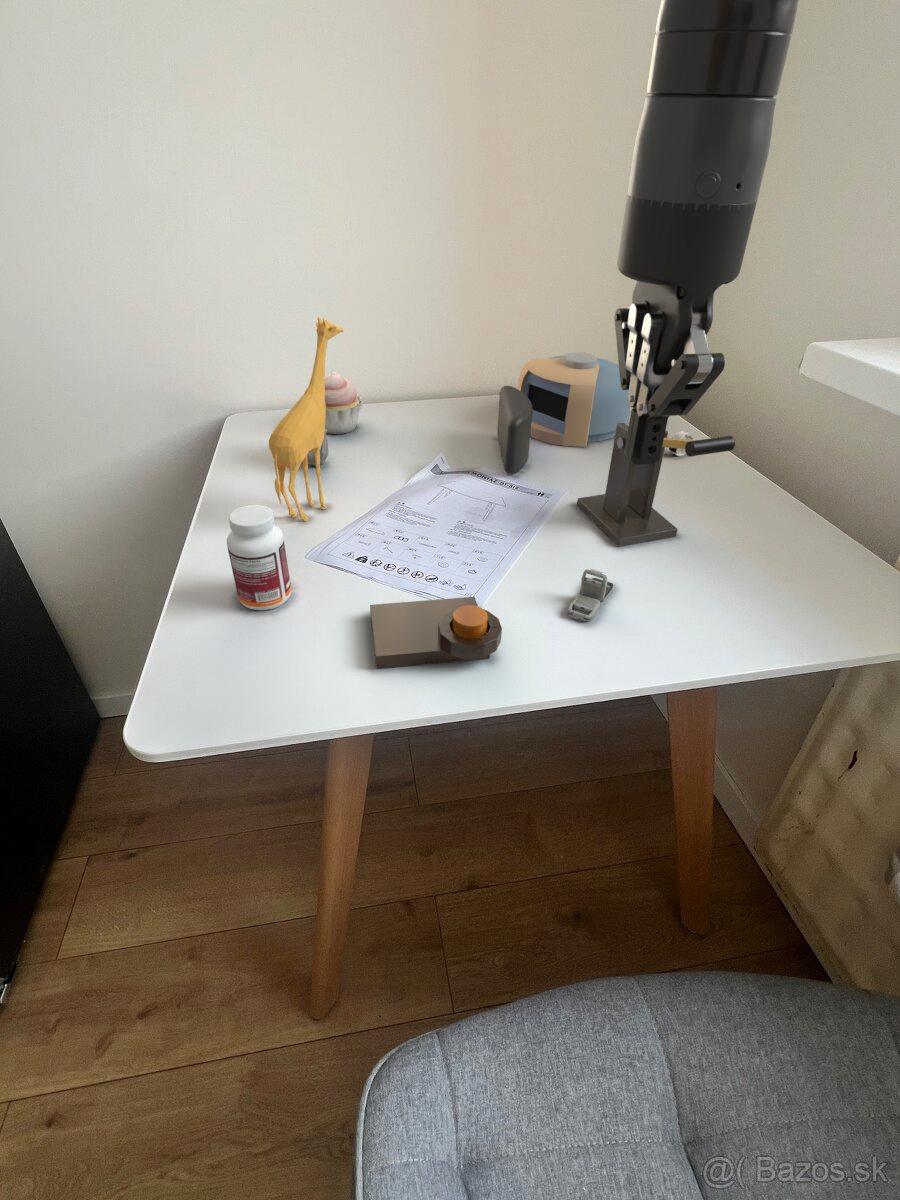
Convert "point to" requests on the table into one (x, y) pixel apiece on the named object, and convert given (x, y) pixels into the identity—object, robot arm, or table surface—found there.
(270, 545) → the pill bottle
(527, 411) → the leaning round-cornered charcoal block
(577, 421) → the alarm clock
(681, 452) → the smartwatch
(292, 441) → the giraffe
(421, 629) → the switch block
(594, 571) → the strap clip
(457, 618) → the light button
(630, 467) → the lever stand
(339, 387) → the cupcake
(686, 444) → the lever handle
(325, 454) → the stone
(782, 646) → the table surface
